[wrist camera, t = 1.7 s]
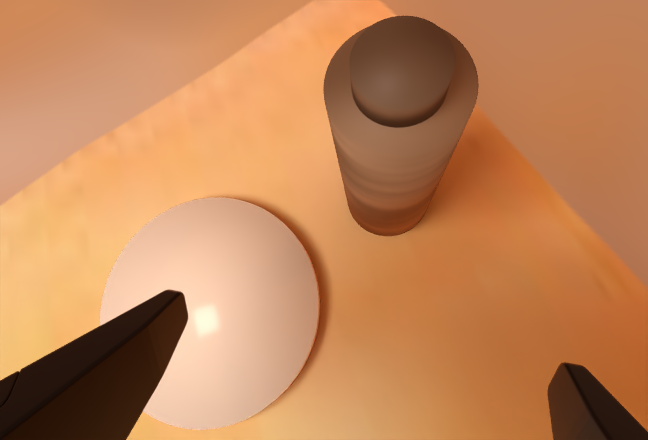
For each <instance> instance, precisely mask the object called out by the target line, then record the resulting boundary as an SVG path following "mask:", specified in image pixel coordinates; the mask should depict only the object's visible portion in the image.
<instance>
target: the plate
mask: <svg viewBox="0 0 648 440" xmlns="http://www.w3.org/2000/svg"><path fill="white" fill-rule="evenodd" d="M168 289H170V290H176V291H181V292H182V293H183V294H184V296H185V301H186V306H187V311H188V321H187V324H186V327H185V329H184V331H183V333H182V336H181V338H180V340H179V342H178V344H177V347H176V349H175V351H174V353H173V355H172V358H171V360H170V362H169V364H168V366H167V369H166V371H165V373H164V375H163V377H162V379H161V381H160V382H159V384H158V386H157V388H156V389H155V391H154V393H153V395H152V396H151V398H150V400H149V401H148V403H147V405H146V407H145V408H144V410H143V412H145V413H146V414H148V415H150V416H151V417H153V418H155V419H157V420H158V421H161V422H164V423H166V424H169V425H171V426H175V427H180V428H184V429H195V430H206V429H217V428H221V427H226V426H230V425H233V424H236V423H238V422H241V421H243V420H246V419H248V418H250V417H251V416H253V415H255V414H257V413H259V412H260V411H262V410H263V409H264V408H266V407H267V406H268V405H270V404H271V403H272V402H274V401H275V400H276V399H277V398H278V397H279V396H280V395H281V394H282V393H283V392H284V391H286V390H287V389H288V388H289V386H290V385H291V384H292V383H293V381H294V380H295V379H296V377H297V376H298V375H299V373H300V372H301V370H302V368H303V367H304V365H305V363H306V361H307V359H308V357H309V355H310V352H311V350H312V348H313V345H314V341H315V338H316V334H317V331H318V324H319V318H320V294H319V286H318V281H317V277H316V273H315V270H314V267H313V265H312V262H311V259H310V257H309V255H308V254H307V252H306V250H305V248H304V246H303V245H302V244H301V242H300V241H299V239H298V238H297V237H296V235H295V234H294V233H293V232H292V231H291V230H290V229H289V228H288V227H287V226H286V225H285V224H284V223H283V222H282V221H281V220H279V219H278V218H277V217H276V216H274V215H273V214H271V213H270V212H268V211H266V210H265V209H263V208H261V207H259V206H256V205H254V204H252V203H249V202H246V201H242V200H238V199H232V198H224V197H215V198H203V199H196V200H192V201H189V202H185V203H182V204H180V205H177V206H175V207H172V208H170V209H168V210H167V211H165V212H163V213H161V214H159V215H158V216H156V217H155V218H154V219H152V220H151V221H149V222H148V223H147V224H146V225H145V226H144V227H142V228H141V229H140V230H139V231H138V232H137V233H136V234H135V235H134V236H133V238H132V239H131V240H130V241H129V242H128V243H127V245H126V246H125V248H124V249H123V250H122V252H121V253H120V255H119V257H118V258H117V260H116V262H115V264H114V266H113V268H112V270H111V272H110V275H109V277H108V280H107V283H106V286H105V290H104V293H103V298H102V304H101V312H100V326H101V325H103V324H104V323H106V322H108V321H110V320H112V319H114V318H115V317H117V316H119V315H121V314H123V313H124V312H126V311H128V310H130V309H132V308H134V307H135V306H137V305H139V304H141V303H143V302H144V301H146V300H148V299H150V298H152V297H154V296H155V295H157V294H159V293H161V292H163V291H165V290H168Z"/></svg>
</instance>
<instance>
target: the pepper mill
mask: <svg viewBox="0 0 648 440" xmlns="http://www.w3.org/2000/svg"><path fill="white" fill-rule="evenodd" d="M477 95H478V75H477V71H476V67H475V64H474V62H473V59H472V58H471V56H470V54H469V52H468V51H467V50H466V48H465V47H464V46H463V44H461V42H460V41H458V40H457V39H456V38H455V37H454V36H453V35H451V34H450V33H448V32H447V31H445V30H443V29H441V28H440V27H438V26H437V25H435V24H434V23H432V22H430V21H427V20H425V19H422V18H419V17H413V16H396V17H390V18H387V19H384V20H381V21H379V22H377V23H375V24H373V25H372V26H369V27H367V28H365V29H363V30H361V31H359V32H358V33H356V34H355V35H353V36H352V37H350V38H349V39H348V40H347V41H346V42H345V43H344V44H343V45H342V46H341V47H340V48H339V49H338V50H337V52H336V53H335V55H334V56H333V58H332V59H331V62H330V64H329V66H328V68H327V71H326V74H325V80H324V100H325V105H326V109H327V114H328V118H329V122H330V127H331V131H332V136H333V140H334V144H335V149H336V153H337V158H338V162H339V166H340V171H341V175H342V180H343V184H344V188H345V193H346V197H347V202H348V206H349V210H350V212H351V214H352V216H353V218H354V219H355V221H356V222H357V223H358V224H359V225H360V226H361V227H362V228H364V229H365V230H367V231H369V232H371V233H373V234H376V235H381V236H395V235H399V234H402V233H405V232H407V231H409V230H410V229H412V228H413V227H414V226H415V225H416V224H417V223H418V222H419V221H420V220H421V219H422V217H423V215H424V213H425V211H426V209H427V207H428V205H429V203H430V200H431V198H432V196H433V194H434V192H435V190H436V188H437V186H438V183H439V181H440V179H441V177H442V175H443V173H444V171H445V169H446V166H447V164H448V162H449V160H450V158H451V156H452V154H453V152H454V149H455V147H456V145H457V143H458V141H459V139H460V137H461V135H462V132H463V130H464V128H465V126H466V124H467V122H468V120H469V118H470V115H471V113H472V111H473V109H474V106H475V104H476V99H477Z"/></svg>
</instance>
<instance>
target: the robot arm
mask: <svg viewBox="0 0 648 440" xmlns="http://www.w3.org/2000/svg"><path fill="white" fill-rule="evenodd" d="M187 321H188V311H187V306H186V301H185V296H184V294H183V293H182V292H181V291H176V290H170V289H168V290H165V291H163V292H161V293H159V294H157V295H155V296H154V297H152V298H150V299H148V300H146V301H144V302H143V303H141V304H139V305H137V306H135V307H134V308H132V309H130V310H128V311H126V312H124V313H123V314H121V315H119V316H117V317H115V318H114V319H112V320H110V321H108V322H106V323H104V324H103V325H101V326H99V327H97V328H95V329H93V330H92V331H90V332H88V333H86V334H84V335H83V336H81V337H79V338H77V339H75V340H73V341H72V342H70V343H68V344H66V345H64V346H63V347H61V348H59V349H57V350H55V351H53V352H52V353H50V354H48V355H46V356H44V357H43V358H41V359H39V360H37V361H35V362H33V363H32V364H30V365H28V366H26V367H24V368H22V369H21V371H20V372H19V371H17V372H15V373H13V374H11V375H10V376H8V377H6V378H4V379H2V380H0V440H126V439H127V437H128V436H129V434H130V432H131V430H132V429H133V427H134V425H135V424H136V422H137V420H138V418H139V417H140V415H141V413H142V412H143V410H144V408H145V407H146V405H147V403H148V401H149V400H150V398H151V396H152V395H153V393H154V391H155V389H156V388H157V386H158V384H159V382H160V381H161V379H162V377H163V375H164V373H165V371H166V369H167V366H168V364H169V362H170V360H171V358H172V355H173V353H174V351H175V349H176V347H177V344H178V342H179V340H180V338H181V336H182V333H183V331H184V329H185V327H186V324H187ZM548 401H549V409H550V417H551V424H552V432H553V440H648V432H647V431H646V430H645V429H644V428H643V427H642V426H641V425H640V423H639V422H638V421H637V420H636V419H635V418H634V417H633V416H632V415H631V414H630V413H629V412H628V411H627V410H626V409H625V408H624V407H623V406H622V405H621V404H620V403H619V402H618V401H617V400H616V399H615V398H614V397H613V396H612V395H611V394H610V392H609V391H608V390H607V389H606V388H605V387H604V386H603V385H602V384H601V383H600V382H599V381H598V380H597V379H596V378H595V377H594V376H593V375H592V374H591V373H590V372H589V371H588V370H587V369H586V368H585V367H583V366H581V365H577V364H572V363H566V362H564V363H561V364H560V365H559V367H558V369H557V371H556V373H555V375H554V376H553V378H552V380H551V382H550V384H549V387H548Z"/></svg>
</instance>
